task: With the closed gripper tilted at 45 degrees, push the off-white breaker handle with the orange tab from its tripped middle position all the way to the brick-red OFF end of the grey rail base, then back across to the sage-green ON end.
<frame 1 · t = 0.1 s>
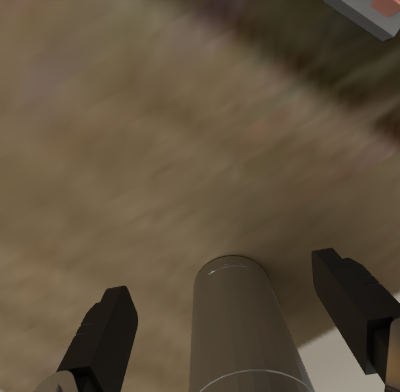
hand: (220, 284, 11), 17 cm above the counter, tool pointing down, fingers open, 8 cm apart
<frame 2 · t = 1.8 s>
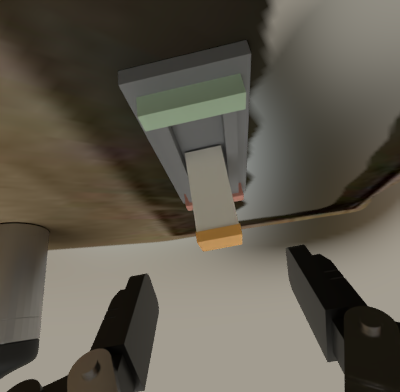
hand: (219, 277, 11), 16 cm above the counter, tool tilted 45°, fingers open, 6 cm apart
breaker handle: (212, 198, 28), point 7 cm above the counter, slide at 0.0 cm
grey rail base: (202, 146, 30), on the counter
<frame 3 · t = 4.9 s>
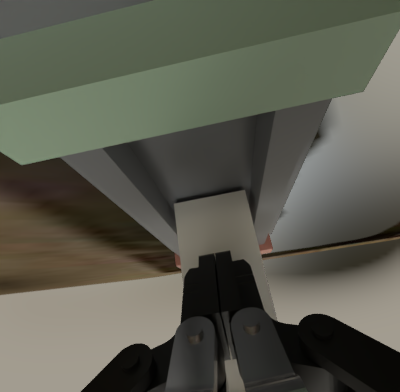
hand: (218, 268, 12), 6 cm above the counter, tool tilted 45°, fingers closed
breaker handle: (227, 294, 14), point 7 cm above the counter, slide at -1.4 cm, touching gripper
grey rail base: (205, 174, 16), on the counter
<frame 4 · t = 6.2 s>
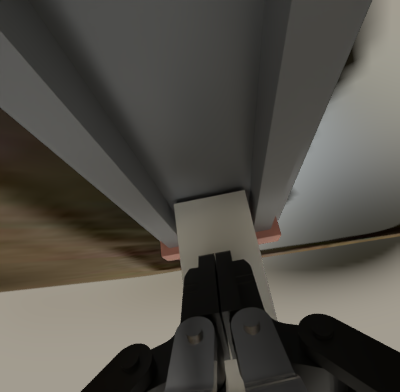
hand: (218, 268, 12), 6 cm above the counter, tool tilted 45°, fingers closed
breaker handle: (228, 294, 14), point 7 cm above the counter, slide at -6.0 cm, touching gripper
grey rail base: (191, 124, 11), on the counter
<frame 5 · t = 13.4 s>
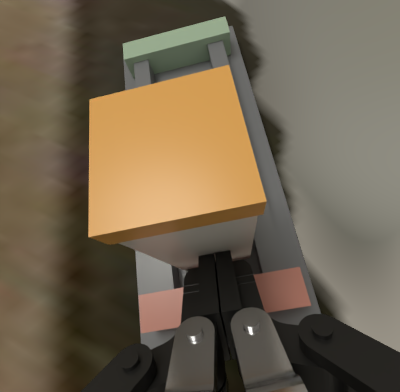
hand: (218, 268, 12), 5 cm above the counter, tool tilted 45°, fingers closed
breaker handle: (197, 205, 11), point 7 cm above the counter, slide at -5.6 cm, touching gripper
grey rail base: (200, 165, 20), on the counter
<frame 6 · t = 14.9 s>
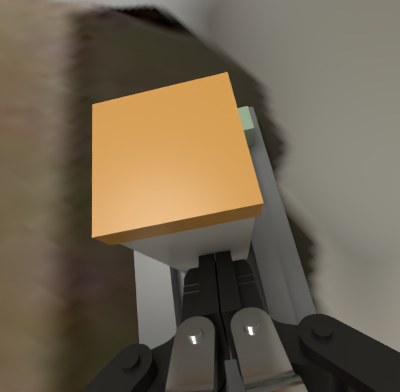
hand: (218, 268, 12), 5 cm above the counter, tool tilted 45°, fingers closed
breaker handle: (195, 207, 12), point 7 cm above the counter, slide at 3.0 cm, touching gripper
grey rail base: (219, 283, 17), on the counter
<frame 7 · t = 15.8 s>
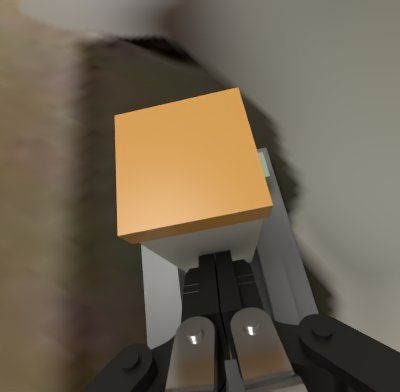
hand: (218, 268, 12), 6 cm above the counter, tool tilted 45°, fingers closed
breaker handle: (204, 211, 12), point 7 cm above the counter, slide at 6.0 cm, touching gripper
grey rail base: (233, 337, 16), on the counter
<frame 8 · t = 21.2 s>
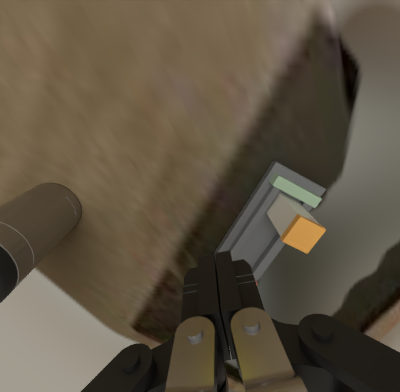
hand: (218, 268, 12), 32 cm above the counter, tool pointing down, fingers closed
breaker handle: (291, 219, 39), point 7 cm above the counter, slide at 6.0 cm
grey rail base: (260, 229, 47), on the counter
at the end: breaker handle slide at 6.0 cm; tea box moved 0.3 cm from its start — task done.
